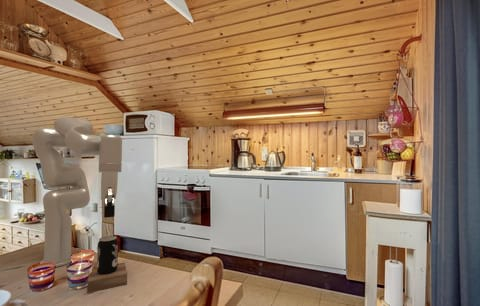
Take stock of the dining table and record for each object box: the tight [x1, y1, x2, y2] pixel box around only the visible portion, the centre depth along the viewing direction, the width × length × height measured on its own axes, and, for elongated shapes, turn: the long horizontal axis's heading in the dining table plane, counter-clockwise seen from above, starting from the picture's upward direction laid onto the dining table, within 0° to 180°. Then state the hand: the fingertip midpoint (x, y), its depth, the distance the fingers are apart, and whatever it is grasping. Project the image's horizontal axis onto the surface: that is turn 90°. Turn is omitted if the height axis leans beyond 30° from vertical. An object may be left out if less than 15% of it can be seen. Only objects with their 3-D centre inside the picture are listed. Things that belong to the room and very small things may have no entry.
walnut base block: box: [86, 262, 128, 294], centre depth 90 cm, size 12×12×4 cm
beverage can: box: [96, 235, 119, 274], centre depth 90 cm, size 7×7×12 cm
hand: (109, 214), depth 91 cm, fingers open, 9 cm apart
